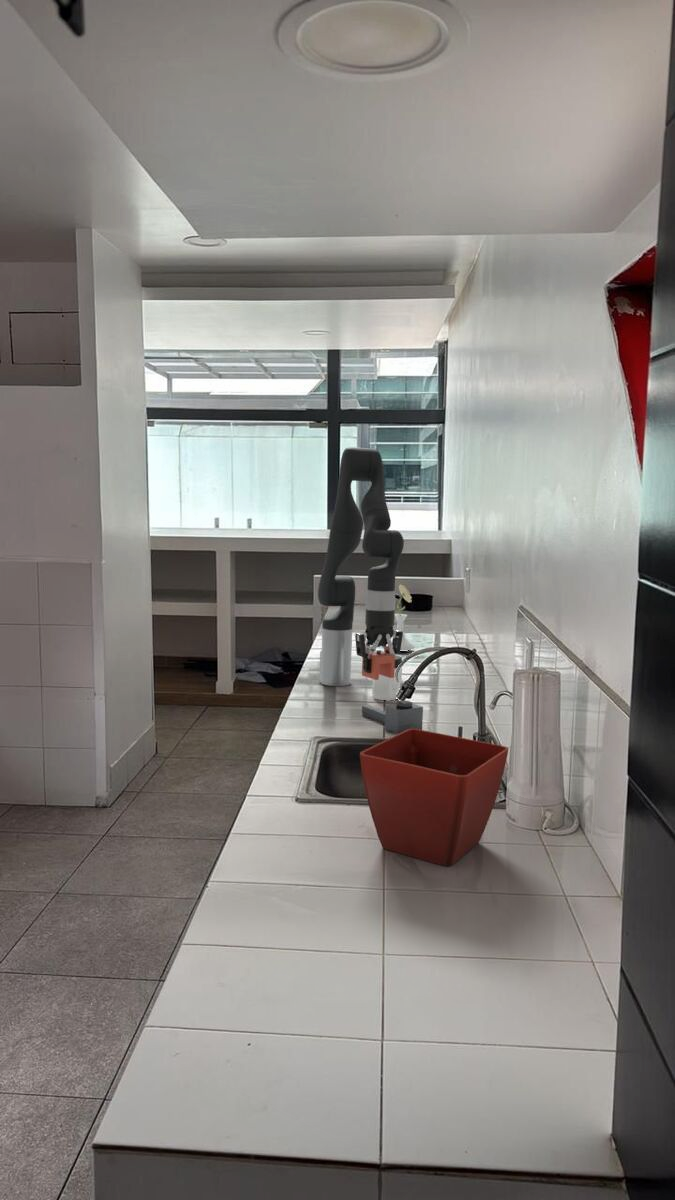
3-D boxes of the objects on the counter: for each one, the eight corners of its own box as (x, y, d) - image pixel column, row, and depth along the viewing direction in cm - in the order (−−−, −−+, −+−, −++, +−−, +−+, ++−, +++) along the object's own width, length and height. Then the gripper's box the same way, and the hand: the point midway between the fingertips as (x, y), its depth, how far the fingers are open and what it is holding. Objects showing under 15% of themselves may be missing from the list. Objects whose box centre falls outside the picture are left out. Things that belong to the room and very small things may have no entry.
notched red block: (361, 675, 228) (362, 649, 227) (380, 673, 231) (381, 648, 230) (375, 680, 223) (376, 653, 222) (394, 677, 226) (395, 652, 226)
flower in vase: (415, 654, 322) (418, 587, 319) (384, 653, 322) (387, 586, 319) (413, 648, 335) (416, 583, 332) (383, 647, 335) (386, 582, 332)
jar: (382, 702, 247) (383, 660, 245) (365, 696, 254) (367, 655, 252) (407, 699, 252) (409, 658, 250) (390, 693, 259) (391, 653, 257)
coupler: (352, 716, 230) (353, 690, 230) (377, 712, 235) (378, 687, 234) (396, 734, 215) (398, 706, 214) (422, 730, 219) (423, 702, 218)
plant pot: (459, 881, 134) (465, 775, 132) (353, 851, 144) (356, 752, 142) (505, 841, 150) (510, 746, 148) (406, 816, 160) (410, 727, 158)
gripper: (393, 604, 232) (391, 666, 234) (349, 607, 224) (347, 671, 226) (411, 608, 226) (408, 671, 228) (366, 610, 218) (363, 676, 220)
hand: (377, 671), depth 227 cm, fingers closed on notched red block, 6 cm apart
